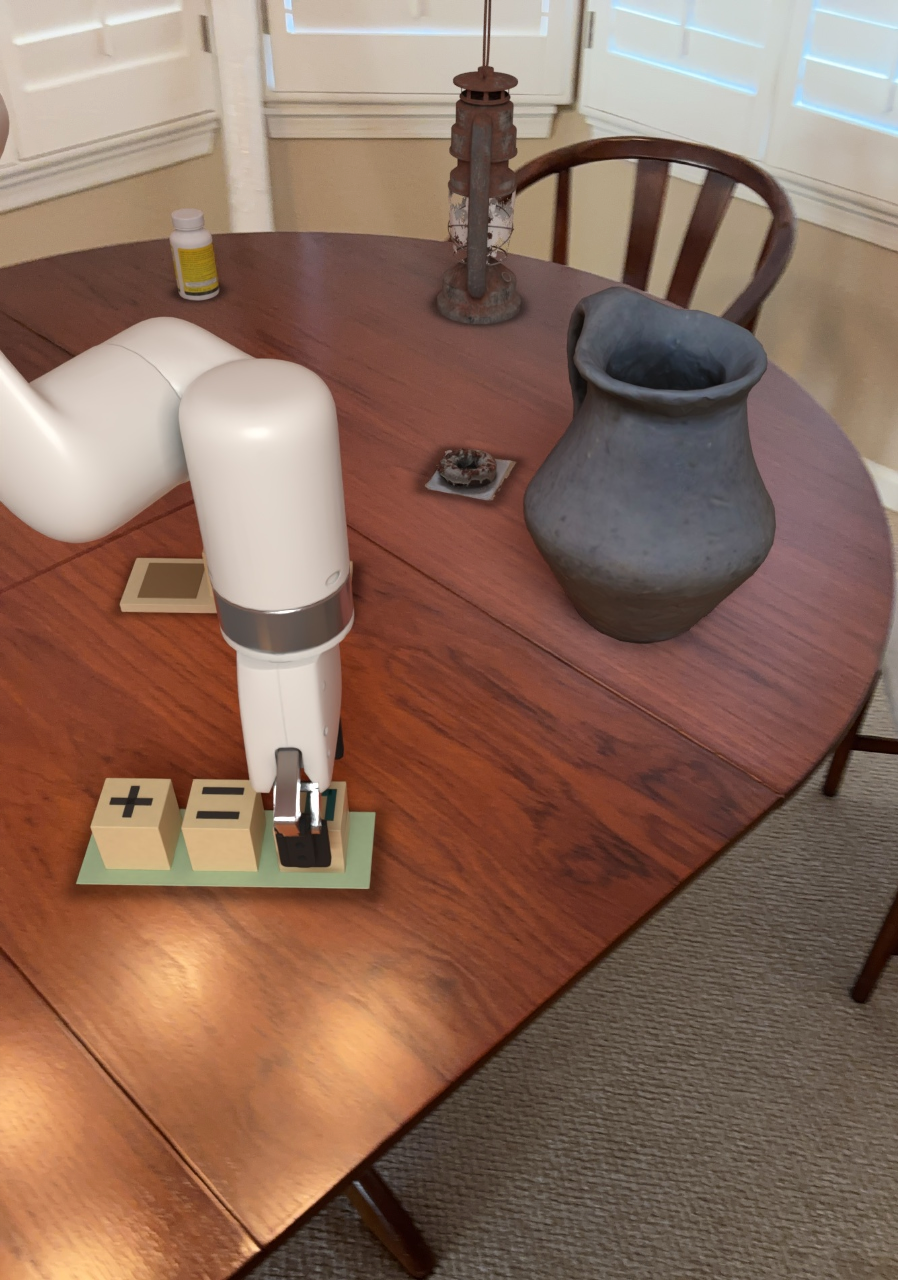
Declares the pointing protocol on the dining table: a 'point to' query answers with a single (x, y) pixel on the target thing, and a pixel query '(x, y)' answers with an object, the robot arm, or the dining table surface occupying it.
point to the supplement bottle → (193, 255)
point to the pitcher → (653, 468)
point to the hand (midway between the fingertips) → (314, 807)
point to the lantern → (482, 196)
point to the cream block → (338, 827)
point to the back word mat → (171, 586)
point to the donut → (470, 474)
